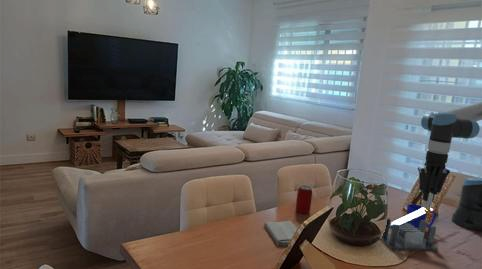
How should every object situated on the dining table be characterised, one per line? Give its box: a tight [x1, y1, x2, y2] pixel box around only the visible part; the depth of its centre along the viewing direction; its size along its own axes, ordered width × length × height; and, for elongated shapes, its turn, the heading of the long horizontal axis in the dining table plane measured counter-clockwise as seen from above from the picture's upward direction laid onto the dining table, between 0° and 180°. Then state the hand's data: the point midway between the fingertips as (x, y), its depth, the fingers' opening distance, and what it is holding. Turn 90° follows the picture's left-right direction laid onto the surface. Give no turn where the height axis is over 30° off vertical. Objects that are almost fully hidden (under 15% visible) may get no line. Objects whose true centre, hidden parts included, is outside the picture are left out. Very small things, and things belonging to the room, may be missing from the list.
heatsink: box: [380, 217, 439, 251], centre depth 143 cm, size 20×12×9 cm, turn 99°
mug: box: [406, 203, 437, 229], centre depth 158 cm, size 8×12×10 cm
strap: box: [387, 208, 434, 230], centre depth 142 cm, size 19×4×1 cm, turn 98°
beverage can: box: [295, 185, 313, 214], centre depth 166 cm, size 7×7×12 cm
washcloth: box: [263, 220, 298, 247], centre depth 141 cm, size 12×18×3 cm, turn 15°
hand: (426, 208), depth 142 cm, fingers closed
